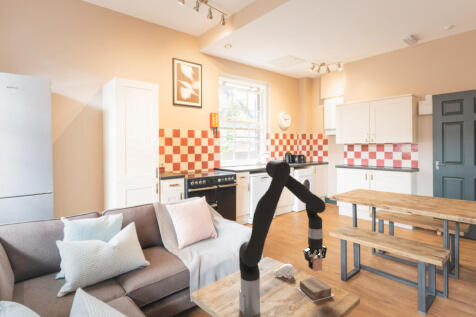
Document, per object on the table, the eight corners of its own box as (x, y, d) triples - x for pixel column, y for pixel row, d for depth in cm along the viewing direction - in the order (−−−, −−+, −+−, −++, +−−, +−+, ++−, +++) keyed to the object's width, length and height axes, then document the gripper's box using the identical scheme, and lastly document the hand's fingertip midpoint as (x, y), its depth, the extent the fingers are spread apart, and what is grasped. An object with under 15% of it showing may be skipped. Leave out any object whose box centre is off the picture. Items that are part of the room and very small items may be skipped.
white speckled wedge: (292, 266, 153) (272, 266, 156) (294, 281, 153) (273, 280, 156) (293, 262, 159) (273, 262, 162) (294, 275, 159) (274, 275, 162)
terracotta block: (314, 271, 136) (314, 260, 136) (308, 267, 141) (308, 256, 141) (322, 269, 138) (322, 258, 138) (316, 265, 143) (316, 254, 143)
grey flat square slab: (312, 304, 131) (312, 302, 131) (296, 289, 144) (296, 287, 144) (334, 297, 137) (334, 295, 136) (317, 284, 150) (317, 282, 149)
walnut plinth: (313, 300, 133) (313, 292, 133) (299, 288, 144) (299, 281, 144) (331, 295, 137) (331, 288, 137) (316, 284, 148) (316, 277, 148)
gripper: (308, 240, 133) (308, 273, 134) (331, 236, 138) (330, 267, 139) (299, 235, 140) (299, 266, 140) (321, 231, 145) (321, 261, 146)
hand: (315, 267), depth 140 cm, fingers closed on terracotta block, 5 cm apart
